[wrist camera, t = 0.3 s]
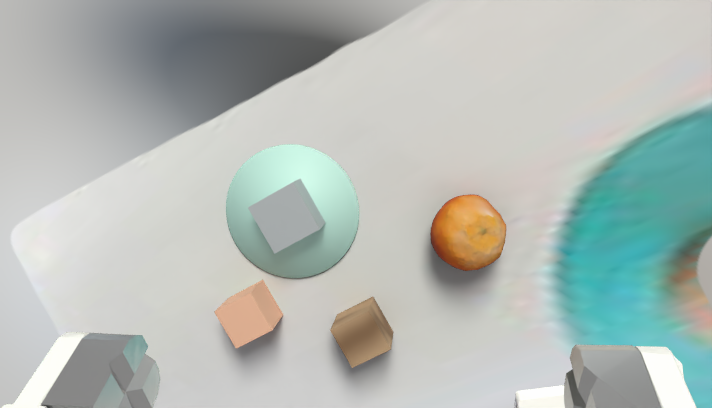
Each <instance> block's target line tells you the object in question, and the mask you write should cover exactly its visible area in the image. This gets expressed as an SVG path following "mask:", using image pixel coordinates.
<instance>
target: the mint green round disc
mask: <svg viewBox="0 0 712 408" xmlns="http://www.w3.org/2000/svg"><path fill="white" fill-rule="evenodd" d="M226 215H227V222H228V226H229V230H230V232H231V235H232V237H233V239H234V241H235V243H236V245H237V246H238V248H239V249H240V251H241V252H242V253H243V254H244V255H245V256H246V258H248V259H249V260H250V261H251V262H252V263H253V264H255V265H256V266H258V267H259V268H261V269H263V270H264V271H266V272H269V273H271V274H274V275H277V276H281V277H287V278H303V277H309V276H313V275H316V274H319V273H321V272H323V271H325V270H327V269H329V268H330V267H332V266H333V265H334V264H336V263H337V262H338V261H339V260H340V259H341V258H342V257H343V256H344V255H345V253H346V252H347V251H348V249H349V248H350V246H351V244H352V242H353V240H354V237H355V235H356V232H357V227H358V222H359V205H358V199H357V195H356V192H355V189H354V187H353V185H352V183H351V180H350V179H349V177H348V176H347V174H346V173H345V171H344V170H343V169H342V168H341V167H340V165H338V164H337V163H336V162H335V161H334V160H333V159H332V158H330V157H329V156H327V155H326V154H324V153H322V152H320V151H318V150H316V149H313V148H310V147H307V146H302V145H294V144H288V145H279V146H274V147H270V148H267V149H265V150H263V151H261V152H259V153H257V154H255V155H254V156H252V157H251V158H250V159H249V160H247V161H246V162H245V163H244V164H243V165H242V167H241V168H240V169H239V170H238V172H237V173H236V175H235V176H234V178H233V180H232V183H231V185H230V188H229V191H228V195H227V201H226Z"/></svg>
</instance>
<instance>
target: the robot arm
mask: <svg viewBox="0 0 712 408" xmlns="http://www.w3.org/2000/svg"><path fill="white" fill-rule="evenodd" d="M147 348H148V345H147V343H146V342H145V340H144V338H143V336H140V335H121V334H102V333H79V332H66V333H64V334H63V335H62V336H60V337H59V338H58V339H57V340H56V342H55V343H54V345H53V346H52V348H51V349H50V351H49V352H48V354H47V355H46V357H45V358H44V359H43V361H42V363H41V364H40V365H39V367H38V368H37V370H36V371H35V373H34V374H33V376H32V377H31V379H30V380H29V382H28V383H27V385H26V386H25V388H24V389H23V391H22V392H21V394H20V395H19V397H18V398H17V400H16V401H15V402H14V404H13V405H12V404H6V405H5V406H3V407H2V408H153V405H154V403H155V400H156V398H157V396H158V391H159V384H160V374H159V368H158V366H157V364H156V362H155V360H153V359H152V358H150V357H149V356H147V355H146V354H145V352H146V350H147ZM570 360H571V364H572V368H573V369H572V370H571V371H569V372H568V373H566V378H565V383H564V404H565V408H696V405H695V403H694V401H693V399H692V397H691V394H690V392H689V390H688V388H687V385H686V383H685V381H684V379H683V376H682V374H681V372H680V370H679V367H678V365H677V363H676V361H675V359H674V356H673V354H672V352H671V351H670V350H669V349H668V348H667V347H645V346H635V347H634V346H630V345H575V346H574V347H573V348H572V352H571V356H570Z"/></svg>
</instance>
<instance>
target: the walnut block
mask: <svg viewBox="0 0 712 408" xmlns="http://www.w3.org/2000/svg"><path fill="white" fill-rule="evenodd" d="M330 331H331V332H332V334H333V336H334V337H335V339H336V341H337V343H338V344H339V346H340V348H341V350H342V351H343V353H344V355H345V356H346V358H347V360H348V362H349V363H350V365H351V367H352V368H353V367H355V366H357V365H359V364H361V363H364V362H366V361H368V360H370V359H372V358H374V357H376V356H378V355H380V354H382V353H384V352H387V351H389V350H391V345H392V338H393V331H392V329H391V327H390V325H389V324H388V322H387V320H386V318H385V317H384V315H383V313H382V311H381V310H380V308H379V306H378V304H377V302H376V301H375V299H374V297H371V298H369V299H367V300H365V301H363V302H361V303H359V304H357V305H355V306H353V307H351V308H349V309H347V310H345V311H343V312H341V313H339V314H337V316H336V319H335V321H334V323H333V325H332V328H331V330H330Z"/></svg>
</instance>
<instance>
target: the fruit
mask: <svg viewBox="0 0 712 408" xmlns="http://www.w3.org/2000/svg"><path fill="white" fill-rule="evenodd" d="M505 236H506V224H505V223H504V221H503V219H502V217H501V215H500V214H499V213H498V212H497V211H496V210H495V209H494V208H493V207H492V205H491V204H490V203H489V202H488V201H487V200H486V199H484V198H482V197H480V196H478V195H462V196H457V197H455V198H453V199H451V200H449V201H448V202H447V203H445V204H444V205H443V206H442V208H441V209H440V210H439V212H438V213H437V214H436V216H435V218H434V220H433V223H432V227H431V243H432V245H433V248H434V250H435V251H436V253H437V254H438V256H439V257H440V258H441V259H442V260H444V261H445V262H447V263H448V264H450V265H451V266H453V267H455V268H458V269H461V270H465V271H468V270H478V269H480V268H483V267H485V266H487V265H489V264H491V263H493V262H494V261H495V260H496V259H498V258H499V257H500V255H501V253H502V250H503V246H504V243H505Z"/></svg>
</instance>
